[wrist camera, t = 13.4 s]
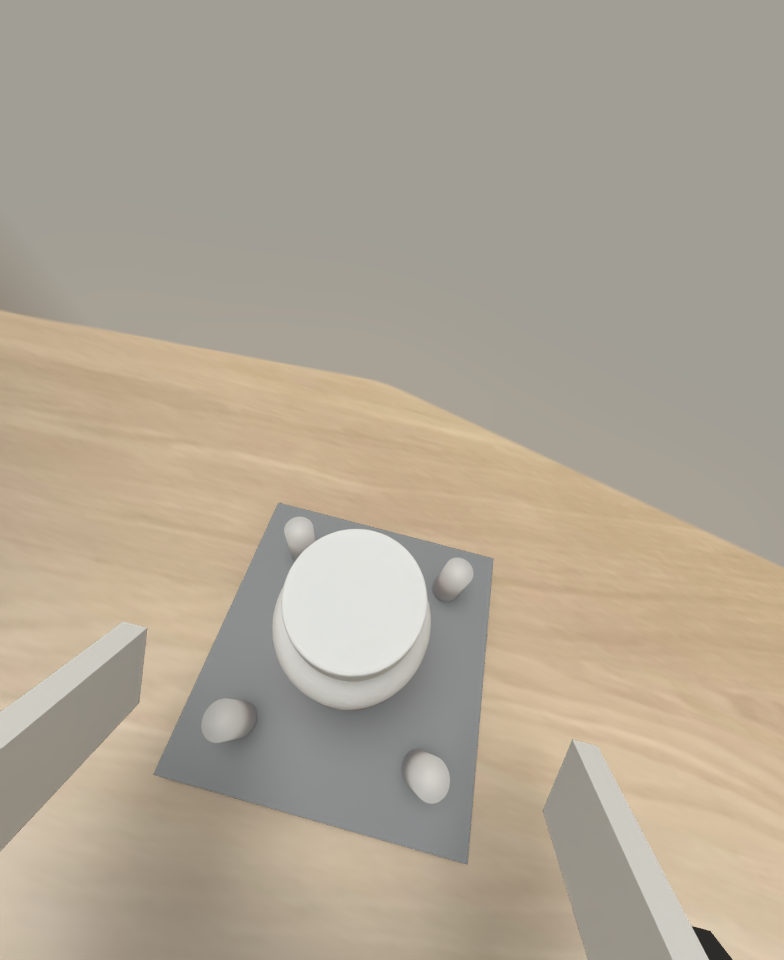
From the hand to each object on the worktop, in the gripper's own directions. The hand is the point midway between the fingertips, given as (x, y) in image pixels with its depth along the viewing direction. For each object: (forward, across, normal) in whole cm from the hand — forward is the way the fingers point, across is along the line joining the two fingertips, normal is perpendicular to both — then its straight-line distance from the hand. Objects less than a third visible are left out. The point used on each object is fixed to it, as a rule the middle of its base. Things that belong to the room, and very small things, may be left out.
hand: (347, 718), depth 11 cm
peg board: (+10, 0, -5) cm, 11 cm away
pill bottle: (+9, -1, -5) cm, 10 cm away
